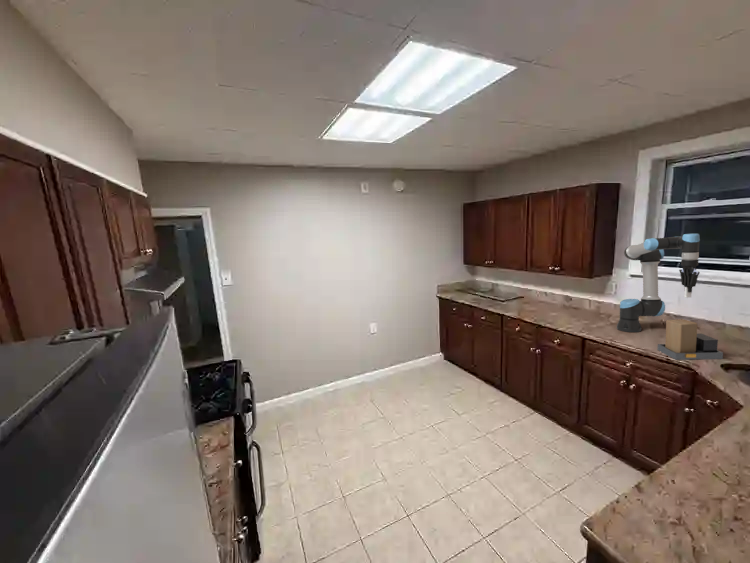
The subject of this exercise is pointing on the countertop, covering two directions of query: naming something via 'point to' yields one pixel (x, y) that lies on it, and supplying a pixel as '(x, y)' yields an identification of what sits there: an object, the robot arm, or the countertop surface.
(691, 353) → the rack
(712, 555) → the countertop surface
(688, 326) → the wooden block
